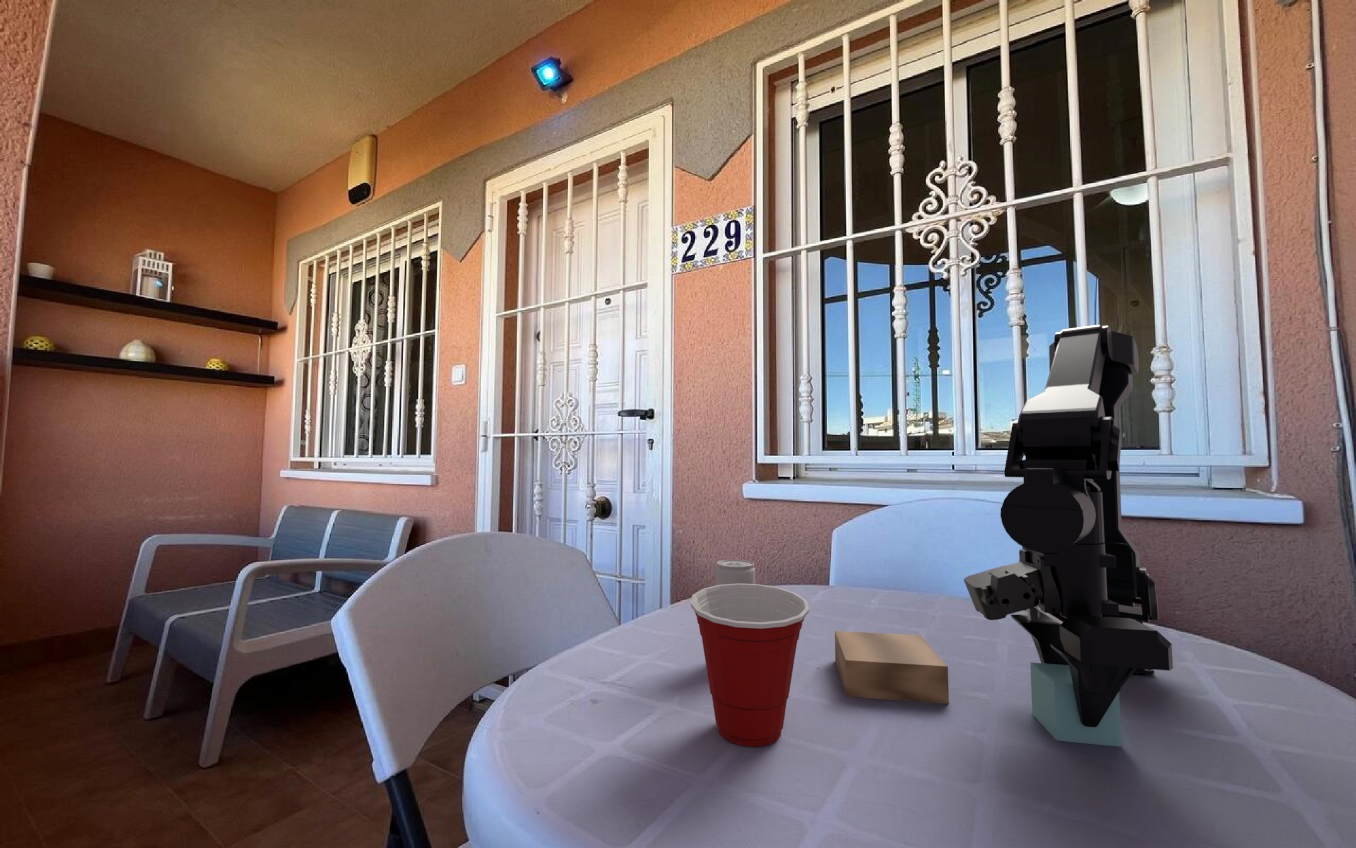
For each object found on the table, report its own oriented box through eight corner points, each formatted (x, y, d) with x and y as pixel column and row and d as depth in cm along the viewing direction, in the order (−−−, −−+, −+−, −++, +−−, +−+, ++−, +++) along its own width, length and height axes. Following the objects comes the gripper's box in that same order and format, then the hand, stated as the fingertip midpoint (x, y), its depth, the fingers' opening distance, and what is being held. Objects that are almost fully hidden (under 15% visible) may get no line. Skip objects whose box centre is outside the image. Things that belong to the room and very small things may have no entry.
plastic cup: (696, 768, 43) (696, 614, 44) (685, 706, 54) (685, 584, 55) (829, 763, 44) (827, 612, 45) (792, 703, 55) (790, 582, 56)
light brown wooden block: (922, 669, 65) (921, 635, 65) (949, 707, 55) (947, 666, 55) (835, 664, 66) (834, 630, 67) (846, 699, 57) (845, 660, 57)
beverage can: (754, 673, 62) (753, 567, 63) (713, 670, 63) (712, 566, 64) (757, 658, 67) (756, 560, 68) (718, 655, 68) (718, 558, 69)
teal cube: (1090, 720, 52) (1088, 666, 52) (1121, 747, 47) (1118, 688, 47) (1032, 715, 53) (1030, 662, 53) (1056, 741, 48) (1054, 682, 48)
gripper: (946, 525, 62) (950, 667, 61) (1009, 553, 43) (1016, 755, 42) (1056, 528, 59) (1062, 675, 58) (1171, 559, 41) (1183, 773, 40)
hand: (1073, 712), depth 50 cm, fingers open, 5 cm apart
